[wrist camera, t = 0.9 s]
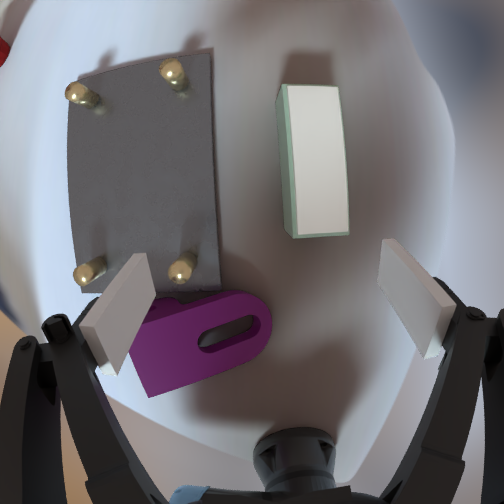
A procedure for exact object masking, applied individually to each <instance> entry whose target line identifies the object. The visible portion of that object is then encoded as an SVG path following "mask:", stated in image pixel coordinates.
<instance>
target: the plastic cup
mask: <svg viewBox="0 0 504 504" xmlns="http://www.w3.org/2000/svg"><path fill="white" fill-rule="evenodd" d="M9 51H10V47H9V45H8V44H7V42H5V41H4V40H3V39H2V38H1V37H0V67H1V66H2V65H3V63H4V62H5V60H6V59H7V57H8V54H9Z"/></svg>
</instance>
